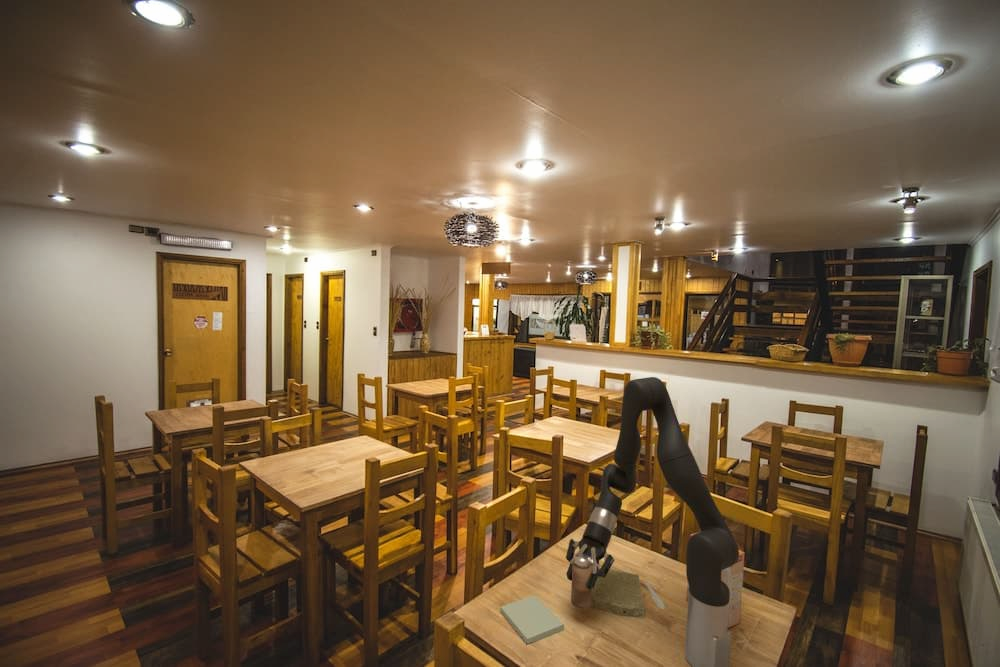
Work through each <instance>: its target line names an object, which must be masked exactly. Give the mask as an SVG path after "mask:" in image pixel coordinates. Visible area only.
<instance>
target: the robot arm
mask: <svg viewBox="0 0 1000 667" xmlns="http://www.w3.org/2000/svg"><path fill="white" fill-rule="evenodd" d="M672 402H673V401H672V400H671V397H670V394H669V391H668V388H667V387H666V385H665V383H664V382H663V381H662V380H661V379H660V378H658V377H655V376H650V377H643V378H634V379H632V380H630V381H628V382H627V383H626V384H625V387H624V389H623V397H622V403H621V404H622V406H621V417H620V427H619V428H620V430H619V434H618V435H619V436H618V440H617V442H616V447H615V450H614V453H613V461H614V464H613V463H609V464H606V465H605V467H603V471H602V476H601V487H600V488H601V489H600V493H599V497H598V499H597V502H596V505H595V507H594V508H593V511H592V512H591V514H590V517H589V519H588V521H587V524H586V527H585V528H584V531H583V534H582V538H581V539H580V540H579V541H576V540H574V539H573V538H571V539H570V540H569V543H568V547H567V551H566V556H565V560H567V561H568V562H569V565H568V569H567V570H566V573H565V575H566V578H567V580H569V581H571V582H572V562H573V561H574V560H575V555H576V554H580V553H582V554H586V555H588V556H589V557H590V562H591V564H592V573H591V575H590V577H589V579H588V582H587V585H586V587H587V588H588V589H589V590H591V588H593V587H594V585H595V583H596V580H597V578H598V577H603V578H604V577H606V575H607V573H608V571H609V570H611V567H612V566H613V564H614V562H615V558H614V557H613V555H612V554H609V553H607V548H608V547H609V544H610V541H611V538H612V536H613V534H614V531H615V527H616V525H617V520H618V518H619V515H620V512H621V509H622V506H623V502H622V499H621V497H619V496H618V495H617V494H616V493H614V492H613V491H612V490H611V488H612V489H613V490H616V491H618V492H620V493H623V494H626V495H630V494H632V493H633V492H634V491H635V489H636V488H637V487H636V486H637V482H638V481H637V464H638V463H637V462H638V459H639V457H640V456H639V455H640V452H641V450H642V437H641V434H640V431H639V428H638V422H639V419H640V416H641V414H642V413H643V412H645V411H649V410H651V412H652V414H653V416H654V418H655V419H654V420H655V422H656V424H657V429H658V430H657V432H658V434H657V436H658V437H657V444H656V459H657V461H658V462H657V463H658V465H659V467H660V470H661V472H662V475H663V477H664V479H665V482H666V483H667V486H669V488H670V489H671V490H672V491H673V492H674V494H676V496H678V497H679V498H680V499H681V500H682V501H683V503H685V505H687V507H689V509H690V511H691V512H692V514H693V516H694V517H695V519H696V521H697V524H698V526H699V528H700V531H698V532H699V533H698V532H695V533H696V534H694V533H693V534H694V535H692V536H691V535H690V537H689V539H688V541H687V545H686V554H685V555H686V557H685V558H686V562H685V563H686V565H685V566H686V567H685V568H686V569H685V573H686V580H687V583H689V595H688V600H687V613H686V626H685V644H684V657H685V660H686V662H688V664H689V666H691V667H729V666H730V655H731V654H730V653H731V651H730V650H731V638H732V633H731V631H730V630H729V628H728V613H729V600H730V591H729V588H728V586H727V585H726V584H725V583H724V582H723V581H721V572H722V570H724V569H726V568H728V567H731V566H733V565H734V564H735V563H736V562H737V561H738V558H739V550H740V549H739V546H738V543H737V541H736V539H735V537H734V535H733V533H732V531H731V529H730V528H729V526H728V524H727V523H726V521H725V519H724V517H723V515H722V513H721V512H720V510H719V507H718V506H717V504H716V503H715V500H714V497H712V494H711V492H710V490H709V488H708V485H707V484H706V482H705V479H704V477H703V474H702V471H701V470H700V468H699V465H698V463H697V460H696V458H695V456H694V453H693V452H692V450H691V448H690V446H689V444H688V442H687V439H686V437H685V434H684V432H683V429H682V427H681V425H680V422H679V421H678V417H677V413H676V411H675V408H674V405H673V403H672ZM577 549H579V550H578V551H577V552H576V550H577ZM575 552H576V553H575ZM603 559H604V561H603V563H602V565H600V561H601V560H603ZM599 568H601V569H600V570H599Z"/></svg>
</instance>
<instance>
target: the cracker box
mask: <svg viewBox="0 0 1000 667" xmlns="http://www.w3.org/2000/svg"><path fill="white" fill-rule="evenodd" d="M699 532H700V531H698V532H695V533H694V532H693V533H692V534H690V537H691V536H692V535H694V534H696V533H699ZM738 550H739V558H738V561H737V562H736V563H735V564H734V565H733V566H731V567H728V568H726V569H724V570H722V572H721V581H723V582H724V583H725V584H726V585H727V586H728V588H729V591H730V600H729V613H728V628H727V629H730V628H731V627H735V626H736V625H739V624H740V622H741V614H742V613H741V611H742V598H743V597H742V596H743V584H744V582H743V581H744V567H745V552H744V551H742V550H740V549H738ZM686 585H687V586H686V601H688V595H689V583H688V582H687V584H686Z"/></svg>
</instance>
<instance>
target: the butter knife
mask: <svg viewBox="0 0 1000 667" xmlns="http://www.w3.org/2000/svg"><path fill="white" fill-rule="evenodd" d="M643 583H644V584H645V586H646V587H647V588H648V591H649V592H650V594H651V597H652V598H653V600H654V603H655V604H656V605H657V607H658V608H659V609H660V610H663V611H665V609H666V605H665V604H664V602H663V601H662V599H661V598H660V597H659V595H658V594H657V593H656V591H655V590H654V589H653V588H652V586H651V585H650V583H649V582H648V581H644V582H643Z"/></svg>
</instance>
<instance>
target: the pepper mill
mask: <svg viewBox="0 0 1000 667" xmlns="http://www.w3.org/2000/svg"><path fill="white" fill-rule="evenodd" d="M575 554H576V553H575ZM575 554H574V557H575V560H574V561H573V562H572V580H571V589H570V592H571V593H570V603H571V604H572V606H574V607H575V608H577V609H581V610H585V609H586V610H587V609H589V608H590V606H591V592H592V588H591V590H589V589H588V588H587V587H586V585H587V582H588V579H589V577H590V575H591V573H592V563H591V562H590V557H589V556H588V555H586V554H582V553H580V554H576V555H575Z"/></svg>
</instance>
